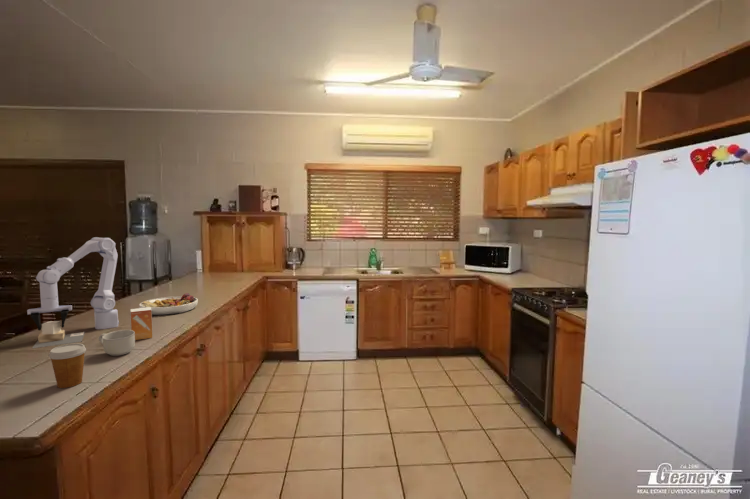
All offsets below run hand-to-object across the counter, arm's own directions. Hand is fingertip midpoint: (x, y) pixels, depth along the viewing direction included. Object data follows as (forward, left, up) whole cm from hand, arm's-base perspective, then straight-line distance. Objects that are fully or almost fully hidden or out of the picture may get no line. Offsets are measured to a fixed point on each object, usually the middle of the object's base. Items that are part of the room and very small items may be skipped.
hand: (51, 328), depth 165 cm
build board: (-3, +2, -6) cm, 7 cm away
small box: (-33, +14, -6) cm, 36 cm away
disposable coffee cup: (-12, +57, -6) cm, 59 cm away
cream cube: (0, 0, -2) cm, 2 cm away
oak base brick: (0, 0, -5) cm, 5 cm away
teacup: (-24, +31, -6) cm, 40 cm away
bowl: (-48, -38, -6) cm, 62 cm away
